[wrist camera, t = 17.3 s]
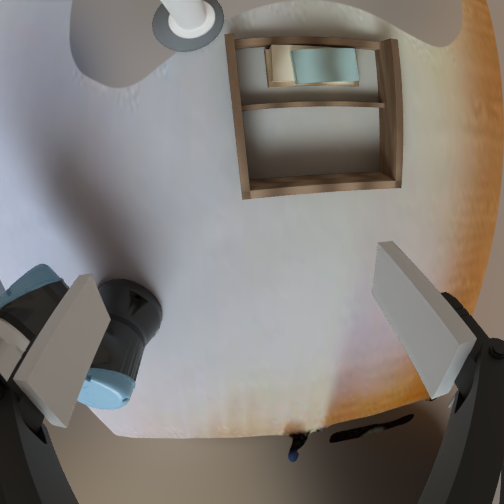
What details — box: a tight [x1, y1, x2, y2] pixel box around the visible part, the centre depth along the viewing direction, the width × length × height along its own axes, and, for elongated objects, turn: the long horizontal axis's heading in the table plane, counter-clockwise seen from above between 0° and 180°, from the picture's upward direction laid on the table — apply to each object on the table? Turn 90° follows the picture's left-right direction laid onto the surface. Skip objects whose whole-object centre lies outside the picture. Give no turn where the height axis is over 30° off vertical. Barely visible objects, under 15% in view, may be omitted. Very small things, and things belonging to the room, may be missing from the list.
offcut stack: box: [264, 45, 359, 87], centre depth 37 cm, size 14×6×6 cm, turn 95°
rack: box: [225, 34, 403, 200], centre depth 40 cm, size 25×24×6 cm
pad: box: [152, 0, 224, 52], centre depth 35 cm, size 11×11×1 cm
